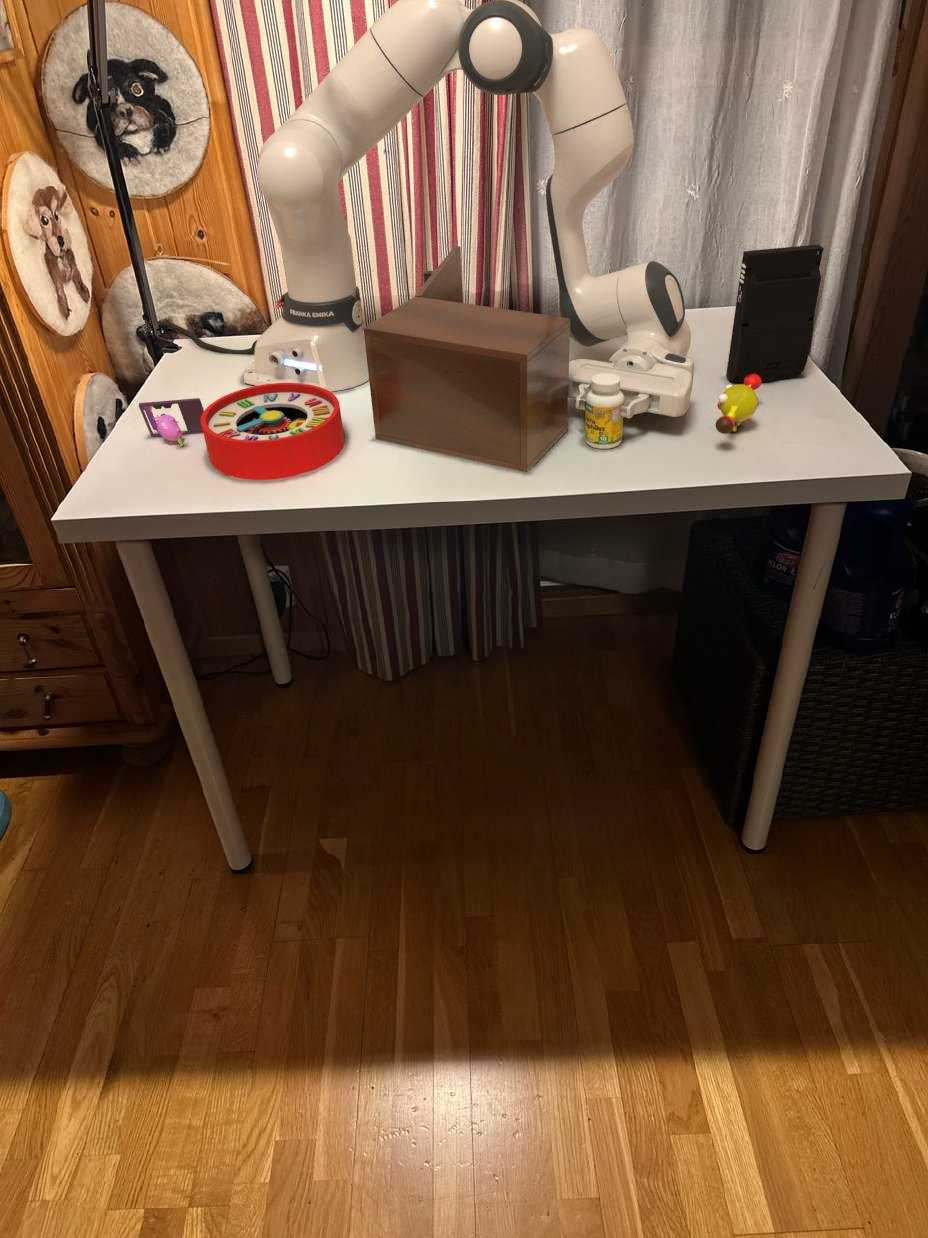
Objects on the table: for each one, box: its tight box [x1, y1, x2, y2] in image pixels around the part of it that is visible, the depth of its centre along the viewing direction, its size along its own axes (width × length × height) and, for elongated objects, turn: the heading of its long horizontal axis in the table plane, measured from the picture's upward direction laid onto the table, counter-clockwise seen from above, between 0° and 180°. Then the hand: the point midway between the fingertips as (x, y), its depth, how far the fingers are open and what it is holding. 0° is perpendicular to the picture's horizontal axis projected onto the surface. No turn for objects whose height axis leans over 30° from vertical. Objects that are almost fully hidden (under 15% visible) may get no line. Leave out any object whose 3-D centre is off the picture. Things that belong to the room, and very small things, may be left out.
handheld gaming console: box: [725, 244, 824, 384], centre depth 143 cm, size 12×5×20 cm, turn 98°
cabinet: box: [363, 295, 571, 473], centre depth 132 cm, size 14×25×17 cm, turn 61°
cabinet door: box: [414, 245, 464, 303], centre depth 153 cm, size 6×25×17 cm, turn 166°
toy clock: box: [201, 383, 345, 481], centre depth 135 cm, size 20×6×20 cm
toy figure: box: [715, 374, 763, 435], centre depth 133 cm, size 18×6×7 cm, turn 152°
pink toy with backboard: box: [138, 397, 205, 447], centre depth 138 cm, size 7×5×9 cm
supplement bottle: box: [584, 373, 624, 450], centre depth 131 cm, size 5×5×10 cm
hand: (602, 408), depth 130 cm, fingers closed on supplement bottle, 5 cm apart
